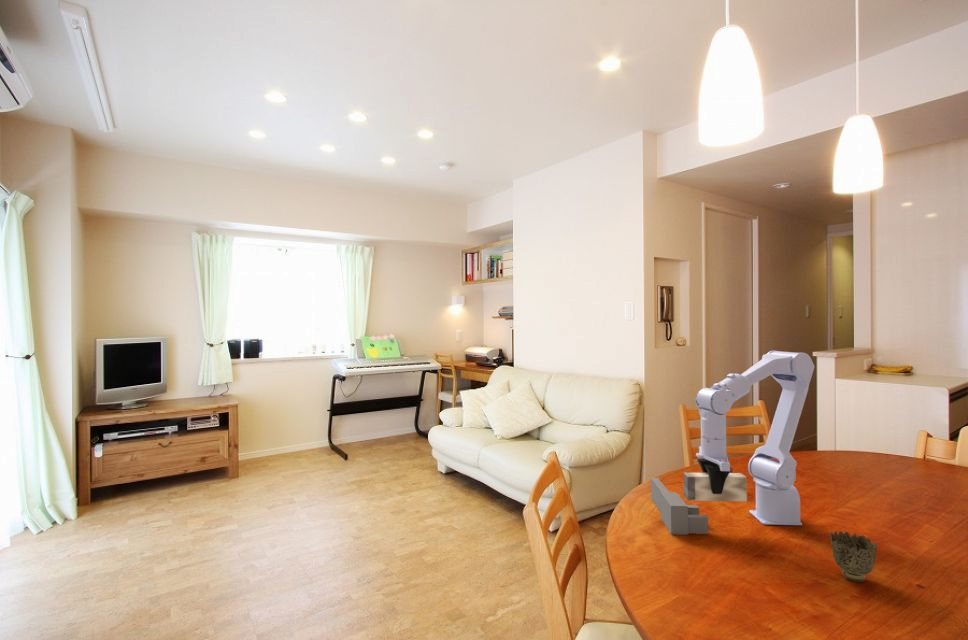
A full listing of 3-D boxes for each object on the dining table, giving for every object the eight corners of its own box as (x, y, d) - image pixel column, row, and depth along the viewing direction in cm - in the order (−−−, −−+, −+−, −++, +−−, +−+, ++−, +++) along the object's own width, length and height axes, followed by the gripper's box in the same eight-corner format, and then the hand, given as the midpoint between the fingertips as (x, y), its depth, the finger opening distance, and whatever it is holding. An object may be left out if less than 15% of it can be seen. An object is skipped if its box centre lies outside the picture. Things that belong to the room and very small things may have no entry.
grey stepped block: (679, 498, 137) (679, 474, 137) (709, 535, 115) (709, 506, 115) (647, 498, 138) (647, 474, 138) (671, 534, 115) (670, 505, 115)
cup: (886, 591, 91) (885, 549, 91) (842, 587, 92) (842, 546, 92) (863, 570, 98) (863, 532, 98) (823, 567, 100) (823, 529, 99)
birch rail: (741, 496, 119) (741, 473, 119) (747, 501, 116) (746, 477, 116) (683, 495, 120) (683, 472, 120) (687, 500, 117) (687, 476, 117)
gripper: (687, 429, 126) (687, 480, 126) (707, 444, 111) (708, 501, 111) (714, 429, 125) (715, 480, 125) (739, 444, 111) (739, 502, 111)
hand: (714, 490), depth 118 cm, fingers closed on birch rail, 3 cm apart
